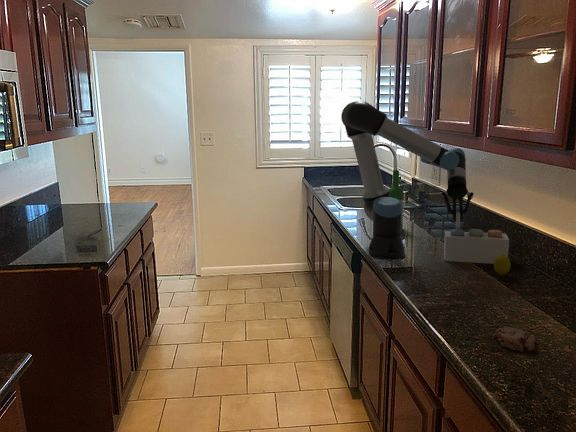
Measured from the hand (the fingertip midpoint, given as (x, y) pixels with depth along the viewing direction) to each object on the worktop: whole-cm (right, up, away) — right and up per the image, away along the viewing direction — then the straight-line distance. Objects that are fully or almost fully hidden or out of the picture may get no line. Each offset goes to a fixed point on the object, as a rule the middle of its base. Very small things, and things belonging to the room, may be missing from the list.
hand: (458, 227), depth 184 cm
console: (+7, -13, +1) cm, 14 cm away
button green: (+7, -7, -1) cm, 10 cm away
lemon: (+9, -17, -18) cm, 26 cm away
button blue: (0, -8, +1) cm, 8 cm away
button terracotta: (+13, -8, -3) cm, 16 cm away
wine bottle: (-14, -2, +50) cm, 52 cm away
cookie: (-9, -29, -64) cm, 71 cm away
